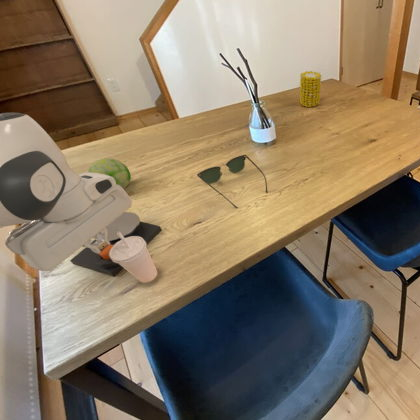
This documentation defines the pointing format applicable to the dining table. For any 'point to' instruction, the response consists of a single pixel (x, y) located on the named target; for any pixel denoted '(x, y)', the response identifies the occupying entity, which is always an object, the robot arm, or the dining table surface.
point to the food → (310, 88)
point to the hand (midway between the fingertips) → (102, 248)
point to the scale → (108, 266)
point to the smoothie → (134, 257)
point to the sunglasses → (234, 166)
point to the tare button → (106, 252)
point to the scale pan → (122, 226)
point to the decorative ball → (112, 170)
